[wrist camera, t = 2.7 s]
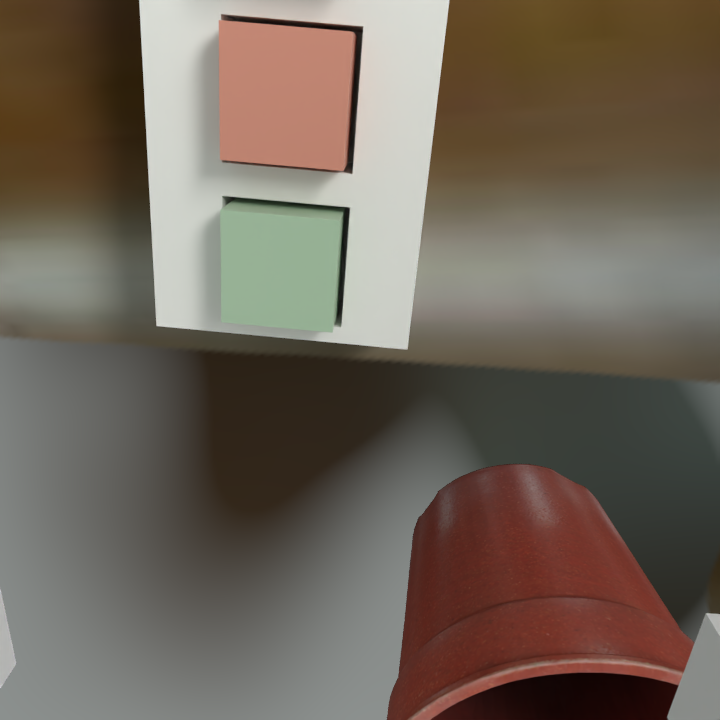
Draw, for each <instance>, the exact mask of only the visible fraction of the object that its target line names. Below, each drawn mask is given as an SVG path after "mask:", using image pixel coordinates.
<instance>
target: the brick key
mask: <svg viewBox="0 0 720 720" xmlns="http://www.w3.org/2000/svg"><path fill="white" fill-rule="evenodd" d="M356 47H357V36H356V35H355V34H354V32H351V31H340V30H328V29H317V28H305V27H294V26H282V25H271V24H259V23H248V22H236V21H224V20H219V116H220V160H227V161H238V162H249V163H261V164H272V165H283V166H294V167H305V168H316V169H327V170H338V171H344V169H345V167H346V165H347V164H348V161H349V147H350V133H351V118H352V104H353V90H354V76H355V61H356Z"/></svg>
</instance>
